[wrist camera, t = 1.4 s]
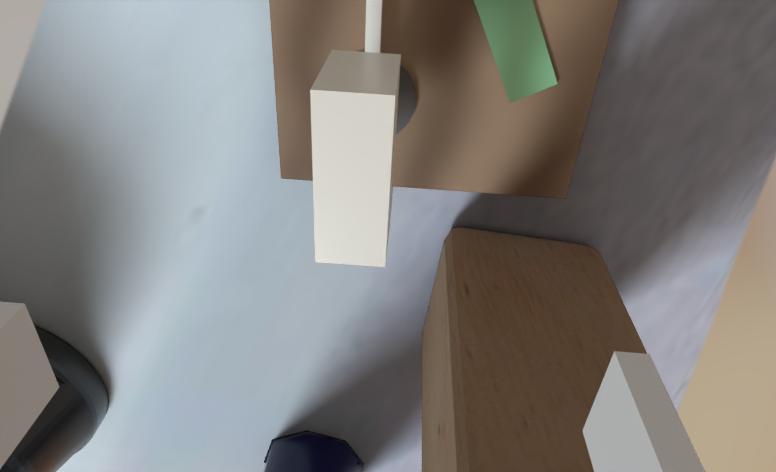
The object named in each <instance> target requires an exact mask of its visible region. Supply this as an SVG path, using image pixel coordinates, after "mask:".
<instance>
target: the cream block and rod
mask: <svg viewBox="0 0 776 472" xmlns="http://www.w3.org/2000/svg"><path fill="white" fill-rule="evenodd" d="M382 4H383V0H366V27H365V52H359V51H344V50H332V51H331V52H330V54H329V56H328V58H327V60H326V62H325V63H324V65H323V67H322V69H321V71H320V73H319V74H318V76H317V78H316V80H315V82H314V83H313V85H312V87H311V89H310V102H311V136H312V169H313V202H314V236H315V262H322V263H335V264H349V265H362V266H376V267H385V265H386V255H387V245H388V236H389V226H390V216H391V206H392V191H393V175H394V159H395V143H396V127H397V111H398V95H399V79H400V62H401V54H389V53H381V28H382Z"/></svg>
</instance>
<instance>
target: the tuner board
mask: <svg viewBox="0 0 776 472" xmlns="http://www.w3.org/2000/svg"><path fill="white" fill-rule="evenodd" d="M618 2H619V0H383V4H382V28H381V53H389V54H401V62H400V79H399V95H398V111H397V127H396V143H395V159H394V175H393V186H395V187H409V188H423V189H437V190H451V191H465V192H479V193H493V194H507V195H521V196H535V197H550V198H564V199H566V197H567V193H568V189H569V186H570V182H571V178H572V174H573V171H574V167H575V163H576V159H577V156H578V152H579V148H580V144H581V141H582V137H583V133H584V129H585V126H586V122H587V118H588V114H589V111H590V107H591V103H592V99H593V96H594V92H595V88H596V84H597V81H598V77H599V73H600V69H601V66H602V62H603V58H604V54H605V50H606V47H607V43H608V39H609V35H610V32H611V28H612V24H613V20H614V17H615V13H616V9H617V5H618ZM269 3H270V18H271V33H272V48H273V63H274V78H275V93H276V108H277V124H278V139H279V154H280V169H281V178H283V179H297V180H311V181H313V169H312V136H311V102H310V89H311V87H312V85H313V83H314V82H315V80H316V78H317V76H318V74H319V73H320V71H321V69H322V67H323V65H324V63H325V62H326V60H327V58H328V56H329V54H330V52H331V51H332V50H344V51H359V52H365V27H366V0H269Z"/></svg>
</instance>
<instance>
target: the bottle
mask: <svg viewBox="0 0 776 472" xmlns="http://www.w3.org/2000/svg"><path fill="white" fill-rule="evenodd" d="M264 463H265V465H264V469H263V472H361V471H362V466H363V464H364V463H363V462H362V461H361V460H360V458H359V457H358V456H357V455H356V453H355V452H354V451H353V450H352V448H351V447H350V446H349V445H348V443H347V442H346V441H344V440H340V439H336V438H333V437H329V436H325V435H321V434H318V433H314V432H310V431H303V432H300V433H296V434H292V435H288V436H285V437H281V438H277V439H273V440H272V442H271V445H270V447H269V450H268V452H267V455H266V458H265V460H264Z"/></svg>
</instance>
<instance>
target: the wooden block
mask: <svg viewBox="0 0 776 472" xmlns="http://www.w3.org/2000/svg"><path fill="white" fill-rule="evenodd" d="M614 351H618V352H631V353H643V354H647V352H646V350H645V348H644V346H643V344H642V342H641V340H640V337H639V335H638V333H637V331H636V329H635V327H634V325H633V322H632V320H631V318H630V316H629V314H628V312H627V310H626V308H625V305H624V303H623V301H622V299H621V297H620V295H619V293H618V291H617V288H616V286H615V284H614V282H613V280H612V278H611V276H610V274H609V271H608V269H607V267H606V265H605V263H604V261H603V259H602V256H601V254H600V253H599V252H598V251H596V250H595V249H593V248H591V247H589V246H587V245H582V244H575V243H568V242H562V241H555V240H548V239H541V238H534V237H527V236H521V235H514V234H507V233H500V232H493V231H487V230H480V229H473V228H466V227H458V228H452V230H451V231H450V233H449V234H448V236H447V237H446V238H445V240H444V243H443V248H442V252H441V256H440V260H439V265H438V269H437V273H436V277H435V282H434V286H433V290H432V294H431V299H430V303H429V307H428V311H427V316H426V320H425V324H424V328H423V332H422V472H594V470H593V466H592V463H591V459H590V456H589V452H588V449H587V445H586V442H585V438H584V435H583V431H582V430H583V428H584V425H585V423H586V420H587V418H588V415H589V413H590V411H591V408H592V406H593V403H594V401H595V398H596V396H597V393H598V391H599V388H600V386H601V383H602V381H603V378H604V376H605V373H606V371H607V368H608V366H609V363H610V361H611V358H612V356H613V353H614Z"/></svg>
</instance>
